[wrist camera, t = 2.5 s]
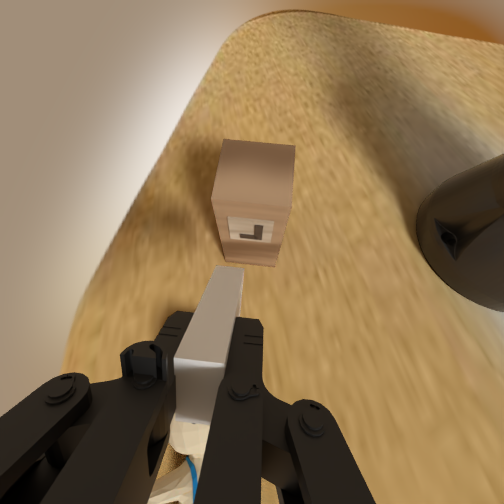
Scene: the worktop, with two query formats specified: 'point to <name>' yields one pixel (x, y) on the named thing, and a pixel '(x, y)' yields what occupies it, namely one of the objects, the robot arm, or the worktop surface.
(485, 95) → the worktop surface
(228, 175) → the block
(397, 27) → the worktop surface
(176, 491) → the toy
